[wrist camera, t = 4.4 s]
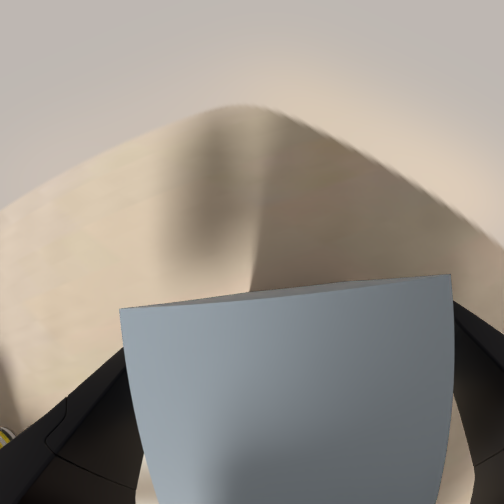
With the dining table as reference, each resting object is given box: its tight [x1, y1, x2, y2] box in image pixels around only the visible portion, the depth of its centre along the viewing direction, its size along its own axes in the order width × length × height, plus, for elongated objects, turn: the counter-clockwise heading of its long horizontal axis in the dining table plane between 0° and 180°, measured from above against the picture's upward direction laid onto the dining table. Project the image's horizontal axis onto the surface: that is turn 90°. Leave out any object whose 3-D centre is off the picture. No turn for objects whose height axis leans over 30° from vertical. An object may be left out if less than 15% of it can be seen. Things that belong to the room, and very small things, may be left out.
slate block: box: [119, 274, 454, 504], centre depth 10 cm, size 5×5×12 cm
